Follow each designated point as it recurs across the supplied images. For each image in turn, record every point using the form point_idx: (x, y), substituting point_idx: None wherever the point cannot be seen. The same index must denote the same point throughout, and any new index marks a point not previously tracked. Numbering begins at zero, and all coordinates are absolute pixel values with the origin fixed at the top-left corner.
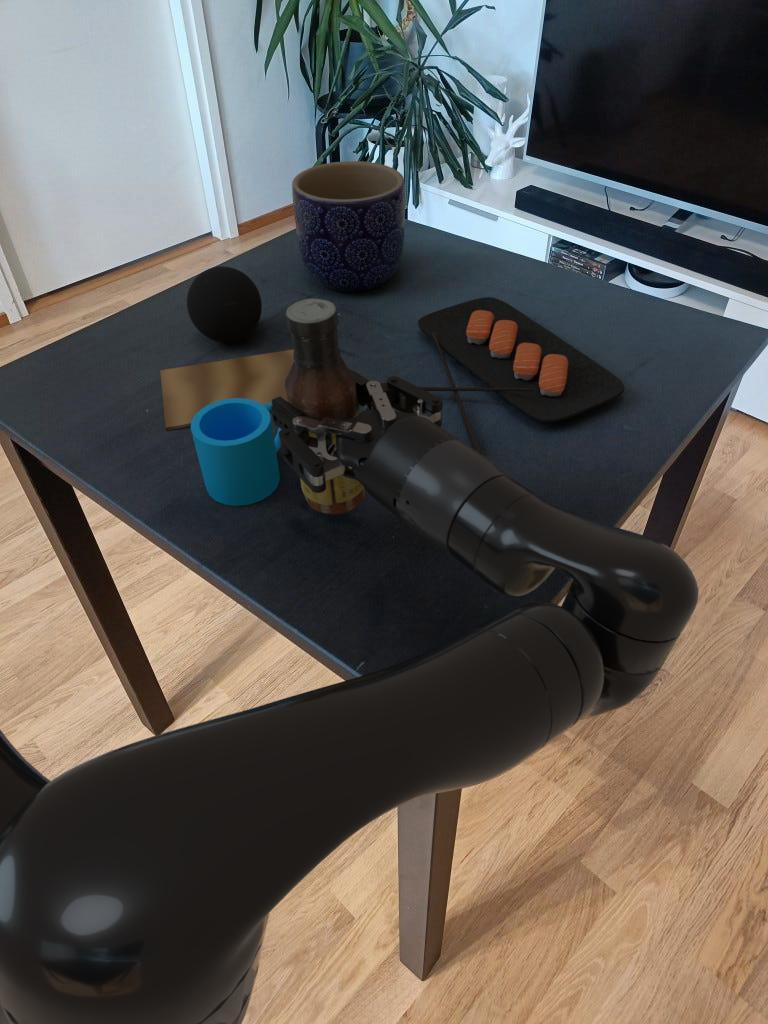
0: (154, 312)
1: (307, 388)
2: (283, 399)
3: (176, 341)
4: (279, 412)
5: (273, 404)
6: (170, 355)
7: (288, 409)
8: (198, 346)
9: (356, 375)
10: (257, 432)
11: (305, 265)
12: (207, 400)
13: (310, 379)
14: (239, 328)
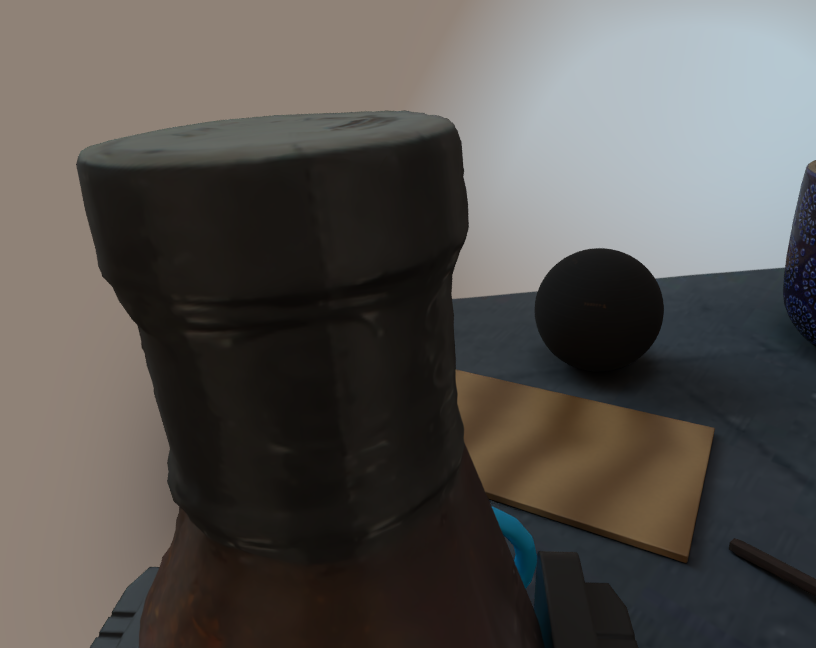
0: (522, 301)
1: (155, 608)
2: None
3: (514, 342)
4: (124, 620)
5: None
6: (488, 356)
7: (128, 637)
8: (536, 359)
9: (616, 637)
10: None
11: (785, 299)
12: (467, 441)
13: (180, 568)
14: (596, 350)
